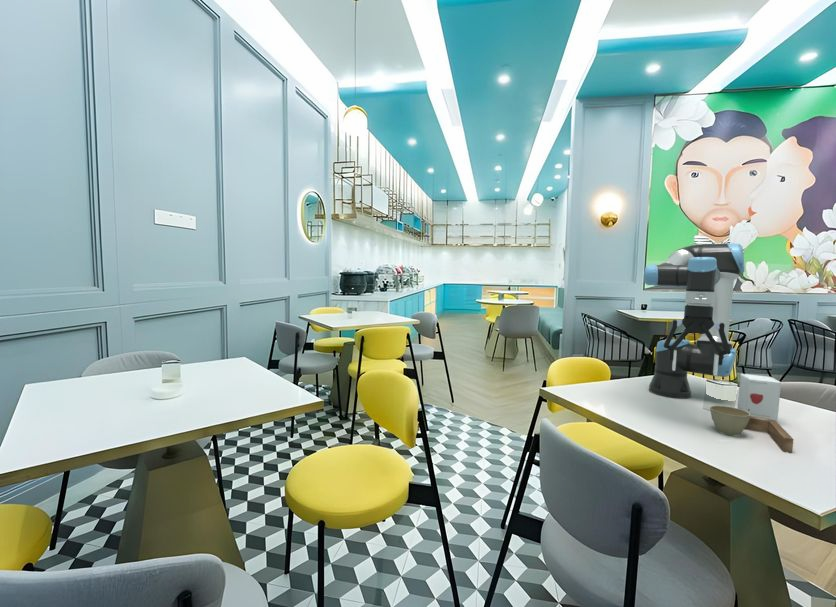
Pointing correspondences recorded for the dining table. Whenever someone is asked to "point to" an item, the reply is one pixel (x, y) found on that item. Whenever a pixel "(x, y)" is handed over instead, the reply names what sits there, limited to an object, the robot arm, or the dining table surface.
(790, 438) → the l-shaped wooden block
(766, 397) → the supplement box
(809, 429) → the dining table surface
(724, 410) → the flower pot
